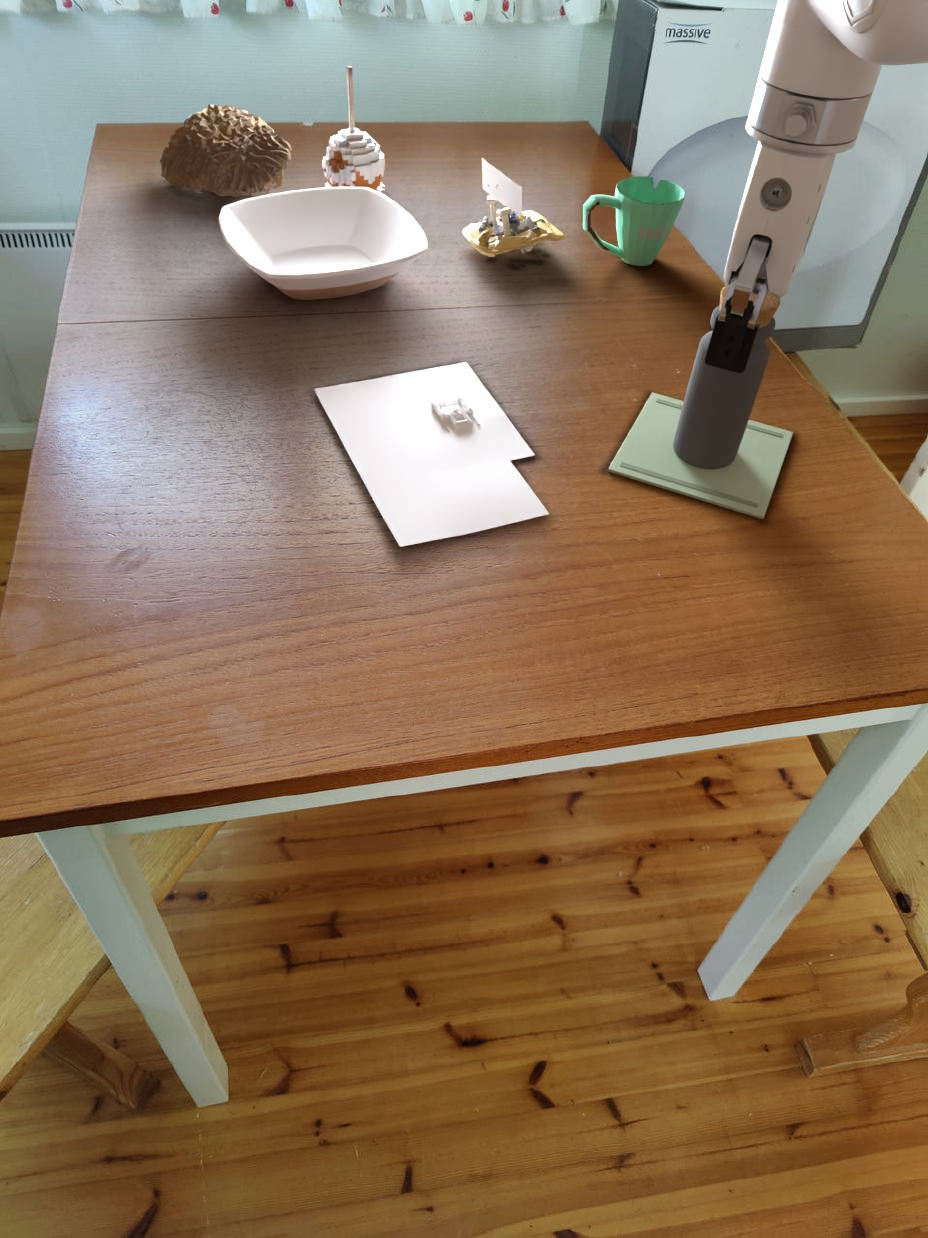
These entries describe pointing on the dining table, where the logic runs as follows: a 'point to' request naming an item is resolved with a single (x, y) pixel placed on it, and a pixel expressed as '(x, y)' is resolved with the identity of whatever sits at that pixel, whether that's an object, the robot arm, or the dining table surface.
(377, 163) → the decorative ornament
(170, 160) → the coral
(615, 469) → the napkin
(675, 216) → the mug
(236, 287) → the dining table surface
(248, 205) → the bowl
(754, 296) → the bottle
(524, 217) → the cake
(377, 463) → the paper
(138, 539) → the dining table surface
